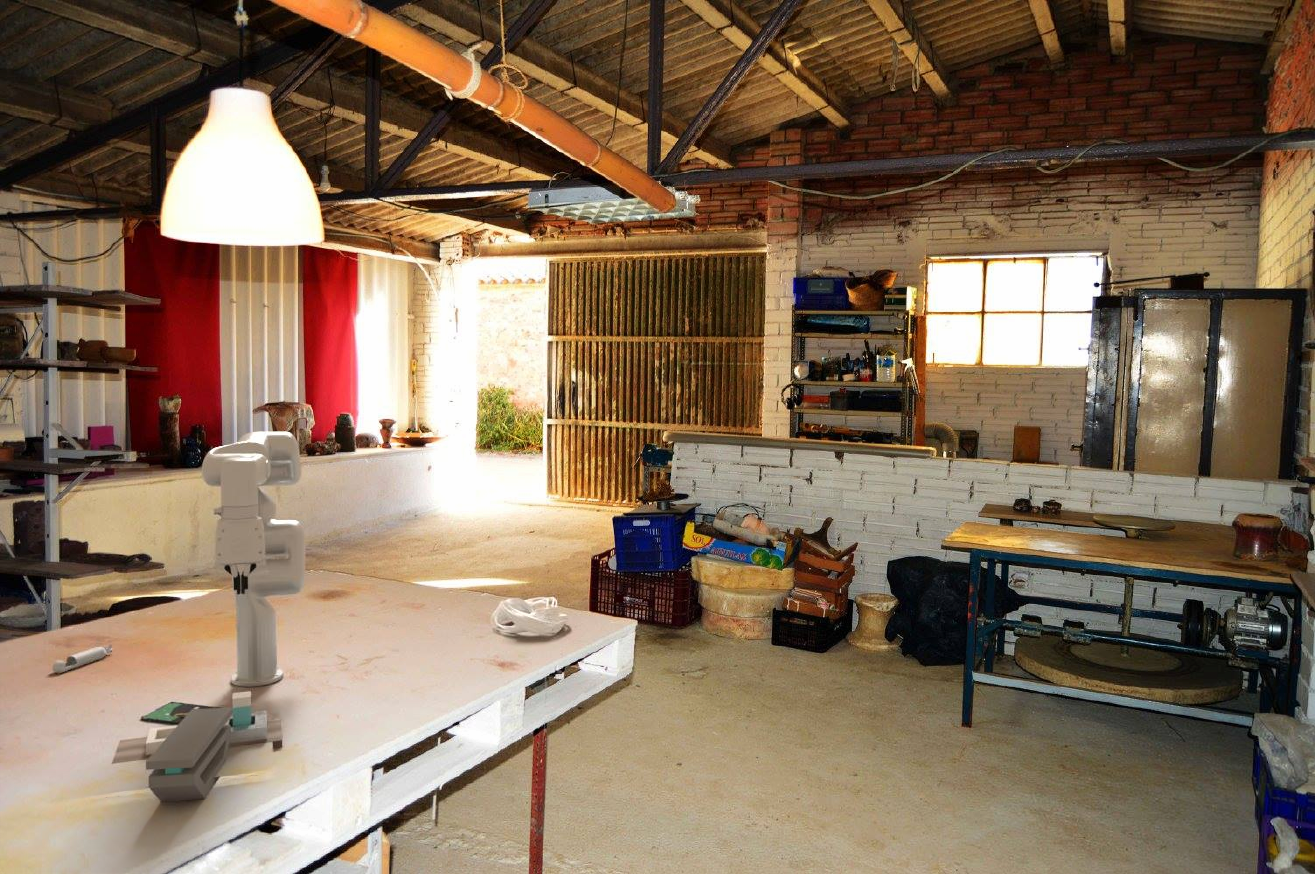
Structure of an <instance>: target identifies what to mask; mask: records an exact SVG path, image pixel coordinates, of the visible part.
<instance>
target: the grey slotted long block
mask: <svg viewBox="0 0 1315 874" xmlns="http://www.w3.org/2000/svg"><path fill="white" fill-rule="evenodd" d="M232 715H233V707H221V708H211V709H192V710H191V711H190V712H189V713H188V714H187V715H186V717H185V718H184V719H183V720H182V721H181V722H180V723H179V725H178V726H177V727H176V728H175V729H174V730H173V731H172V732H171V734H170V735H169V736H168V737H167V738H166V739H165V740H164V742H163V743H162V744H161V745H160V746H159V747H158V748H157V749H156V751H155V752H154V753H153V754H152V755H151V756H150V757H149V759H146V761H145V770H147V771H149V770H152V772H151V773H150V774H149V775H148V788H149V790H151V792H152V793H153V795H154V796H155V797H156V798H157V799H158V800H159V801H160V802H174V801H175V802H176V801H190V800H191V801H192V800H194V801H195V800H205V799H206V798H207V797H208V796H209V794H210V792H211V791H212V790H213V788H214V786H215V785H216V784H217V783H218V780H219V779H221V776H217V775H218V773H219V772H220V770H221V769H222V767H223V766H224V764H225V762H226V760H227V756H228V751H229V748H228V747H229V742H230V737H231V725H225V724H226V722H227V721H228V720H229V718H230V717H231V716H232Z"/></svg>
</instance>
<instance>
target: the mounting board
mask: <svg viewBox="0 0 1315 874" xmlns="http://www.w3.org/2000/svg"><path fill="white" fill-rule="evenodd" d="M147 737H148V736H145V737H144V736H143V737H137V738H128V739H121V740H119V742H118V745H117V747H116V750H115V753H114V756H113V759H112V762H111V764H118V763H119V764H121V763H125V762H132V761H141V760H148V759H149V757H150V756H151V755H152V754H150V755H146V741H147ZM265 743H272V744H271V745H272V749H274V748H275V749H276V748H283V731H282V719H278V720H269V721H268V720H267V740H266V741H259V742H251V743H244V744H237V745H229V747H228V749H229V748H235V747H243V746H251V745H258V744H265Z"/></svg>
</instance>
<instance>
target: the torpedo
mask: <svg viewBox="0 0 1315 874" xmlns="http://www.w3.org/2000/svg"><path fill="white" fill-rule="evenodd" d="M99 640H101V635H99ZM113 650H114V648H113V645H112V644H110V645H105V646H101V645H99V646H96V647H92V648H89V649H87V650H83V651H81V652H77V653H75V654H72V655H69V656H67V657H66V663H65V661H63V660H61V659H58V660H56V661H54V663H53V664H52V671H53V672H54V673H56V674H63V672H64V673H66V672H69V671H71V670H70V669H72V670H74V669H73V668H75V669H77V668H80V667H82V665H83V666H85V665H84V664H86V665H88V664H91V663H93V662H92V661H94V662H96V660H97V661H99V660H102V659H103V658H104V657H105V656H106V655H108V654H111V653H113ZM101 658H102V659H101ZM90 662H91V663H90ZM87 663H88V664H87ZM79 666H80V667H79ZM68 670H69V671H68ZM65 671H66V672H65Z"/></svg>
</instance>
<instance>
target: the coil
mask: <svg viewBox="0 0 1315 874" xmlns="http://www.w3.org/2000/svg"><path fill="white" fill-rule="evenodd" d="M549 602H551V605H550V604H549ZM554 604H555V605H554ZM539 605H546V606H543V607H540V608H537V609H535V607H536V606H539ZM557 609H558V600H557V599H556V597H553V596H551V597H546V596H539V597H538V596H537V597H533V598H529V599H528V598H527V599H522V598H520V597H511V598H508V599H506V600H501V601H500V602H499V605H498V606H497V607H496V609H495V610H494V612H492V614H491V618H490V622H491V626H492V627H493V628H495V629H496V630H497V631H500V632H502V633H510V634H521V633H527V632H529V633H531V634H535V635H536V634H537V635H540V636H547V637H548V636H549V637H551V636H555V635H557V633H558V632H560V631H561V630H562V628H563V627H564V626H565V623H566V622H568V620H569V618H568V615H567V614H566V613H560V612H557V611H556V610H557ZM505 621H506V622H507V621H508V622H509V621H511V622H512V623H514V624H513V625H511V626H510V625H502V623H503V622H505ZM493 622H494V623H495V625H494V624H493Z"/></svg>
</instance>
